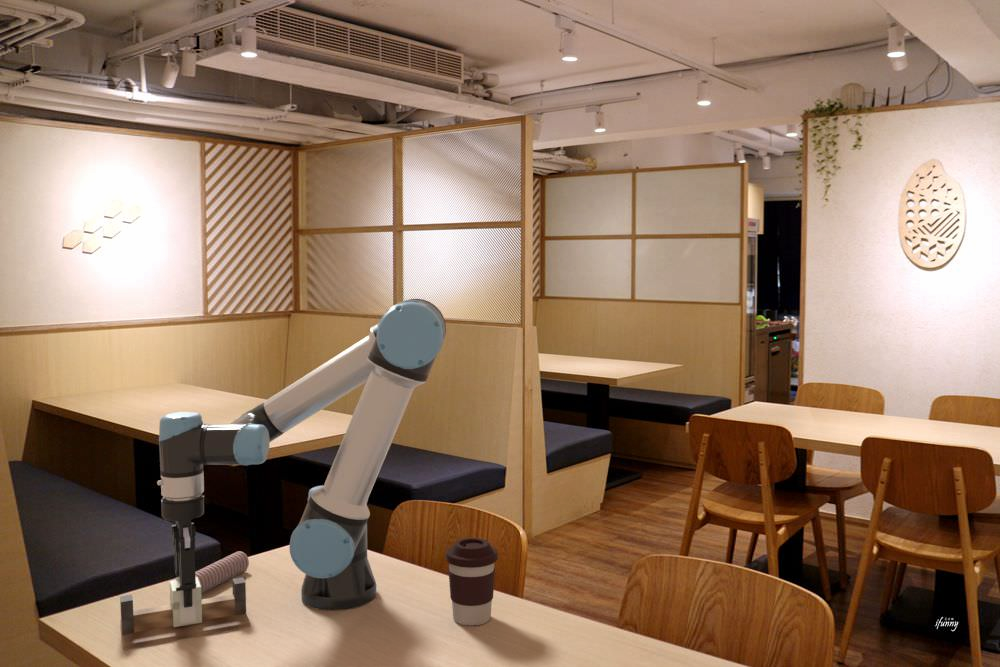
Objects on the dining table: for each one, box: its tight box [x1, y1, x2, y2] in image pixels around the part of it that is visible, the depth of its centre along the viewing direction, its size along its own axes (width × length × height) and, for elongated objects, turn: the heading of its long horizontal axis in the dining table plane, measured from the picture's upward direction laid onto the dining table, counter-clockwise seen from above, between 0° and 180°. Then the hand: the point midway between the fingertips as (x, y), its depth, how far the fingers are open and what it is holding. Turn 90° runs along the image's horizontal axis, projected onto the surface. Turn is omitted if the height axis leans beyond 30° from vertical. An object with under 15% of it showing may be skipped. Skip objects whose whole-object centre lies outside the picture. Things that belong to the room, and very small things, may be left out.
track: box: [119, 576, 251, 650], centre depth 163 cm, size 22×12×7 cm, turn 116°
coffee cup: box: [445, 537, 499, 627], centre depth 166 cm, size 10×10×15 cm
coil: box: [195, 551, 250, 595], centre depth 184 cm, size 5×5×18 cm
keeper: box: [169, 577, 202, 627], centre depth 163 cm, size 5×6×7 cm
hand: (186, 615), depth 163 cm, fingers closed on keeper, 6 cm apart
